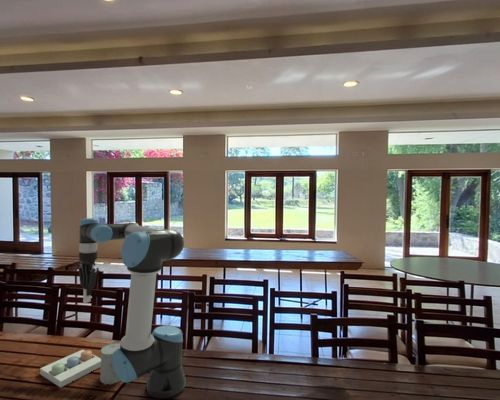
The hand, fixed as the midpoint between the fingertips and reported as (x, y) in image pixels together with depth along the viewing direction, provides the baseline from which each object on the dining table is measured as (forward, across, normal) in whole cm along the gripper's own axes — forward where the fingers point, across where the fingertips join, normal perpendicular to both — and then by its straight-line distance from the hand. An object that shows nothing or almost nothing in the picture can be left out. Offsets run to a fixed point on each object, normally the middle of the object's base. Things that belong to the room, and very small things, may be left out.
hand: (87, 301), depth 134 cm
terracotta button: (+26, -4, +2) cm, 27 cm away
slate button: (+26, -4, +8) cm, 28 cm away
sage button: (+26, -4, +14) cm, 30 cm away
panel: (+26, -4, +8) cm, 28 cm away
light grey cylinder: (+27, -23, +2) cm, 35 cm away
